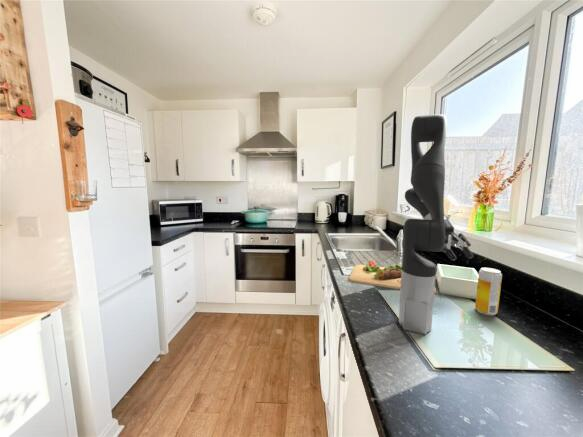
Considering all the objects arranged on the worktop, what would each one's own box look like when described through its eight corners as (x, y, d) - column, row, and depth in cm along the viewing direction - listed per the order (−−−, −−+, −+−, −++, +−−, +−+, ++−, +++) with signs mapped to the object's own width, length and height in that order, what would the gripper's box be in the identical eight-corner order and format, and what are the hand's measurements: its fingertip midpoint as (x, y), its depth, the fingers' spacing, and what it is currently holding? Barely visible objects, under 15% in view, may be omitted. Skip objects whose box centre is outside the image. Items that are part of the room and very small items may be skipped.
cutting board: (348, 282, 111) (348, 266, 110) (356, 267, 132) (356, 253, 131) (436, 296, 97) (438, 278, 96) (429, 276, 118) (430, 261, 117)
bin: (482, 300, 93) (484, 282, 92) (439, 293, 99) (441, 276, 98) (472, 283, 108) (474, 268, 108) (436, 278, 115) (437, 263, 114)
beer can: (487, 307, 87) (491, 266, 85) (502, 316, 81) (507, 273, 79) (470, 307, 87) (474, 267, 85) (484, 316, 81) (489, 273, 79)
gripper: (431, 219, 95) (456, 255, 86) (457, 217, 100) (484, 252, 90) (419, 230, 101) (441, 265, 92) (445, 228, 105) (469, 261, 96)
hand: (463, 258), depth 91 cm, fingers open, 8 cm apart
